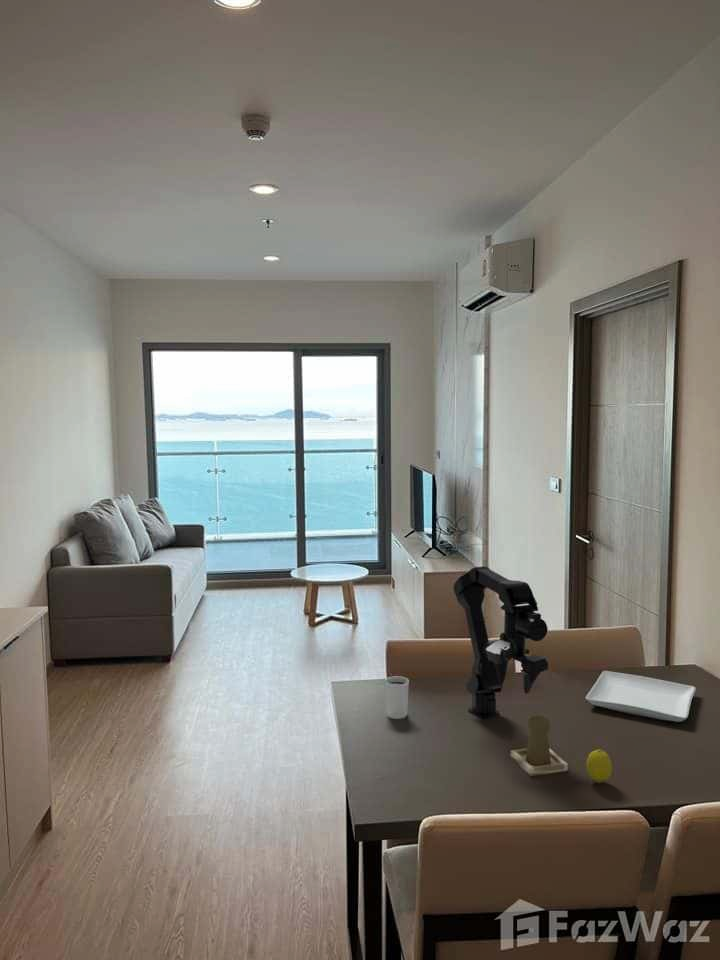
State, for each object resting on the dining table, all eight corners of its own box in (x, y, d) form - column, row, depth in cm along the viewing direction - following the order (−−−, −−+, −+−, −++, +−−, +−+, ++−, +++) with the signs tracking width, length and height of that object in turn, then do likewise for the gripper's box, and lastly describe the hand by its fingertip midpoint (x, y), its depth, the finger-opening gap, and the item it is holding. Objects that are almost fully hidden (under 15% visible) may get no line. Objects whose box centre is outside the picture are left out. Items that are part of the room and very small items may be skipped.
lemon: (582, 777, 170) (583, 744, 169) (605, 776, 170) (606, 743, 170) (591, 789, 164) (592, 755, 164) (615, 788, 165) (616, 754, 164)
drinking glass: (403, 708, 209) (403, 675, 208) (412, 717, 203) (412, 683, 202) (381, 711, 207) (382, 677, 206) (389, 720, 201) (390, 686, 200)
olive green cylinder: (546, 769, 172) (547, 725, 171) (521, 762, 176) (522, 719, 175) (554, 759, 177) (555, 716, 176) (530, 753, 181) (531, 710, 180)
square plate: (686, 730, 196) (687, 716, 195) (583, 710, 209) (584, 697, 209) (695, 696, 219) (696, 684, 219) (602, 680, 233) (603, 668, 232)
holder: (510, 756, 180) (510, 750, 180) (546, 751, 183) (546, 745, 182) (529, 776, 170) (530, 769, 170) (567, 770, 173) (567, 764, 173)
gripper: (468, 625, 193) (467, 682, 195) (518, 644, 178) (516, 706, 179) (499, 619, 199) (498, 674, 201) (550, 637, 183) (548, 696, 185)
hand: (514, 687), depth 191 cm, fingers open, 9 cm apart
